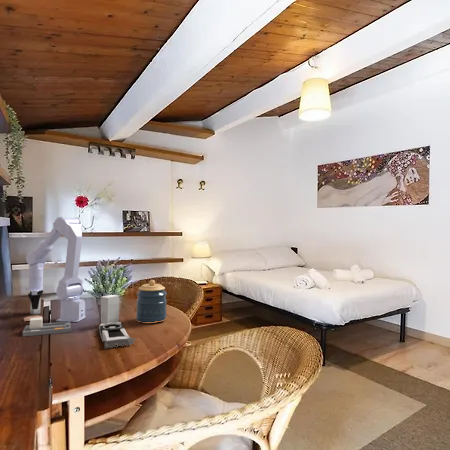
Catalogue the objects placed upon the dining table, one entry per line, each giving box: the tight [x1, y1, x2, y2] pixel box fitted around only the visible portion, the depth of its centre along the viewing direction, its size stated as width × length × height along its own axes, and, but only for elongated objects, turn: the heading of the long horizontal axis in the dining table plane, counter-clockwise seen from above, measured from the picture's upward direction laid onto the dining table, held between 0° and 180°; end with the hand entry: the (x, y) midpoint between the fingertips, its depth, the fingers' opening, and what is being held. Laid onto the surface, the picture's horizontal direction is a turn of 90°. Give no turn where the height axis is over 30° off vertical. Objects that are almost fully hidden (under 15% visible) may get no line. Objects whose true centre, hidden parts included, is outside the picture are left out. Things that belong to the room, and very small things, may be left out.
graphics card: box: [98, 321, 136, 350], centre depth 133 cm, size 10×3×25 cm
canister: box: [135, 279, 168, 322], centre depth 157 cm, size 13×13×18 cm
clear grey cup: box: [30, 296, 42, 315], centre depth 165 cm, size 4×4×8 cm
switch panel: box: [22, 321, 72, 337], centre depth 139 cm, size 16×9×2 cm, turn 113°
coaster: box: [23, 315, 43, 322], centre depth 155 cm, size 7×7×1 cm
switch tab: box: [29, 316, 44, 328], centre depth 137 cm, size 4×4×3 cm
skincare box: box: [100, 294, 120, 324], centre depth 148 cm, size 6×4×12 cm
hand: (35, 308), depth 165 cm, fingers closed on clear grey cup, 4 cm apart
